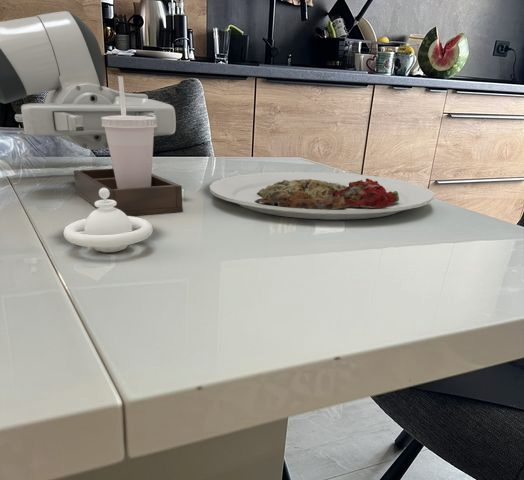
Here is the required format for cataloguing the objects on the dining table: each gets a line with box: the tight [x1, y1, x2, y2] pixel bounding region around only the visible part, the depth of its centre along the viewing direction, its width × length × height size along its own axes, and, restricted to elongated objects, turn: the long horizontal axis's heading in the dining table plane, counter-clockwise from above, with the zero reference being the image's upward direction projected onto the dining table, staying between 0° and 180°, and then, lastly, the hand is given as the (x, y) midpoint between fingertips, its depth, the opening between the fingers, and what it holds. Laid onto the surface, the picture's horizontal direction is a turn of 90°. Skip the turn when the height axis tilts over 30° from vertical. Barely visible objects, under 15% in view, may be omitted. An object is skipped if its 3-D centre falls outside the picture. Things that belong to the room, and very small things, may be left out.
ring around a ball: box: [63, 188, 154, 253], centre depth 50 cm, size 8×6×8 cm
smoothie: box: [101, 75, 157, 189], centre depth 66 cm, size 6×6×14 cm
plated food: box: [208, 171, 435, 220], centre depth 74 cm, size 30×30×3 cm
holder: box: [73, 168, 184, 217], centre depth 72 cm, size 9×17×3 cm, turn 29°
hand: (115, 123), depth 69 cm, fingers open, 8 cm apart
